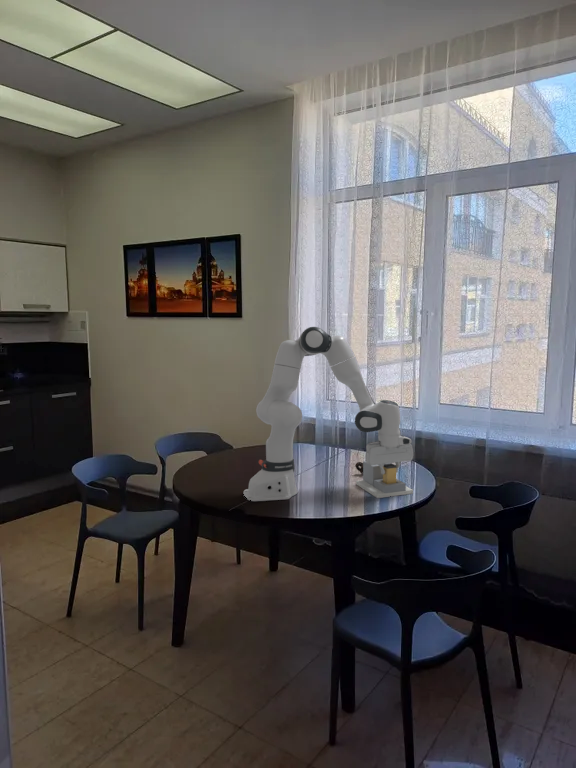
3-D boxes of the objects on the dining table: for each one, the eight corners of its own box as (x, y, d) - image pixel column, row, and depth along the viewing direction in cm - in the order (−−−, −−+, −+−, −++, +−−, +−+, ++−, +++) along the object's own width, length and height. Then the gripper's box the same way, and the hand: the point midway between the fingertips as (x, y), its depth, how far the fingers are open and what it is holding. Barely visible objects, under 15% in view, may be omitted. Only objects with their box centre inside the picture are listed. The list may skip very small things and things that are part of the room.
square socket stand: (377, 498, 210) (377, 473, 209) (356, 484, 229) (356, 461, 228) (413, 493, 215) (413, 469, 214) (389, 480, 234) (389, 458, 233)
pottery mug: (379, 472, 248) (383, 460, 243) (377, 486, 240) (382, 474, 235) (354, 466, 249) (358, 453, 244) (352, 480, 241) (356, 467, 236)
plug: (387, 486, 214) (387, 466, 214) (382, 483, 218) (382, 464, 217) (396, 484, 216) (396, 465, 215) (391, 482, 219) (391, 463, 219)
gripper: (369, 444, 209) (370, 478, 210) (415, 439, 215) (415, 472, 216) (362, 440, 215) (363, 474, 216) (407, 436, 221) (407, 468, 222)
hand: (389, 473), depth 216 cm, fingers closed on plug, 4 cm apart
